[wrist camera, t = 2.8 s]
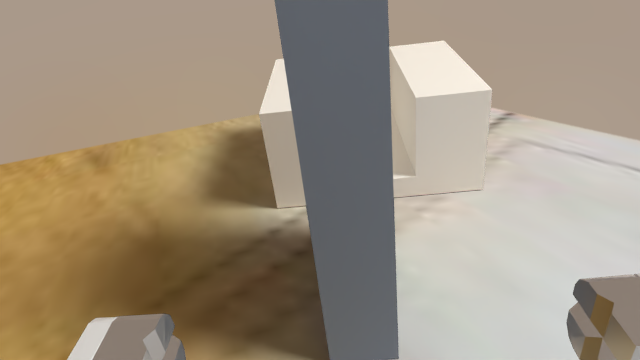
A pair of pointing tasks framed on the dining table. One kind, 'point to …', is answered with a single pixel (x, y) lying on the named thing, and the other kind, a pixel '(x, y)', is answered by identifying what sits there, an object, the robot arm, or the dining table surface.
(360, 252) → the slim book
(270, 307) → the dining table surface
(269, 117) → the book stand
